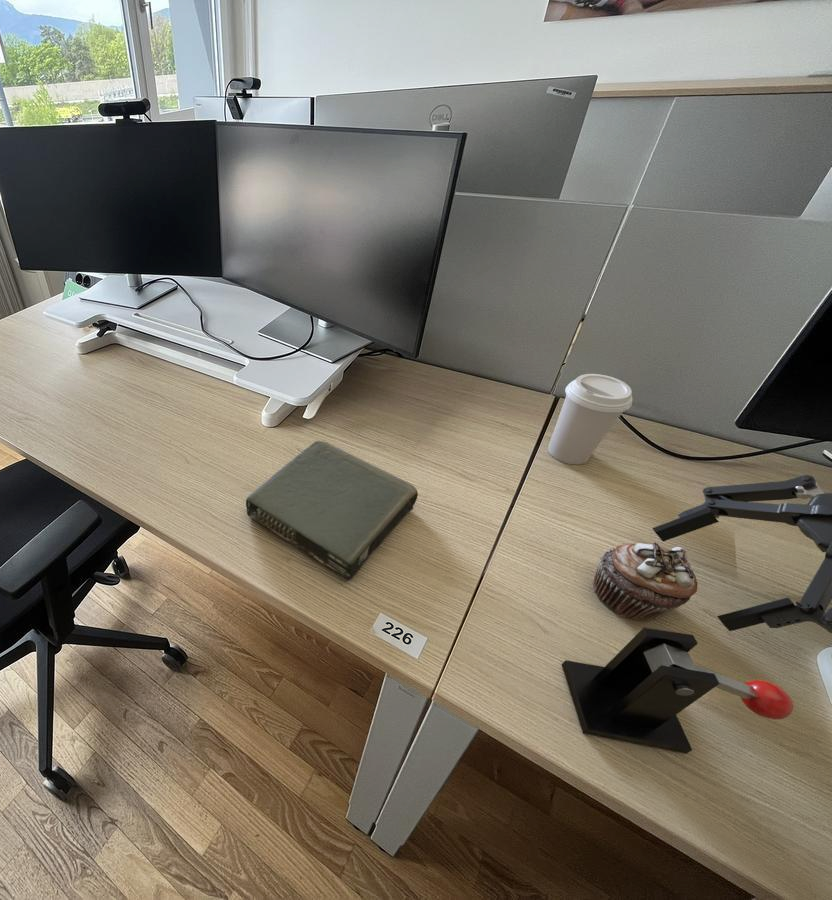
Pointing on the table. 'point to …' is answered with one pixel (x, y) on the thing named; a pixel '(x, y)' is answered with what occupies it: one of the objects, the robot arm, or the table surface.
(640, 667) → the switch bracket
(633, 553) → the cupcake
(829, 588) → the robot arm
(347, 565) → the network switch
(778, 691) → the switch lever
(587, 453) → the coffee cup
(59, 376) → the table surface
